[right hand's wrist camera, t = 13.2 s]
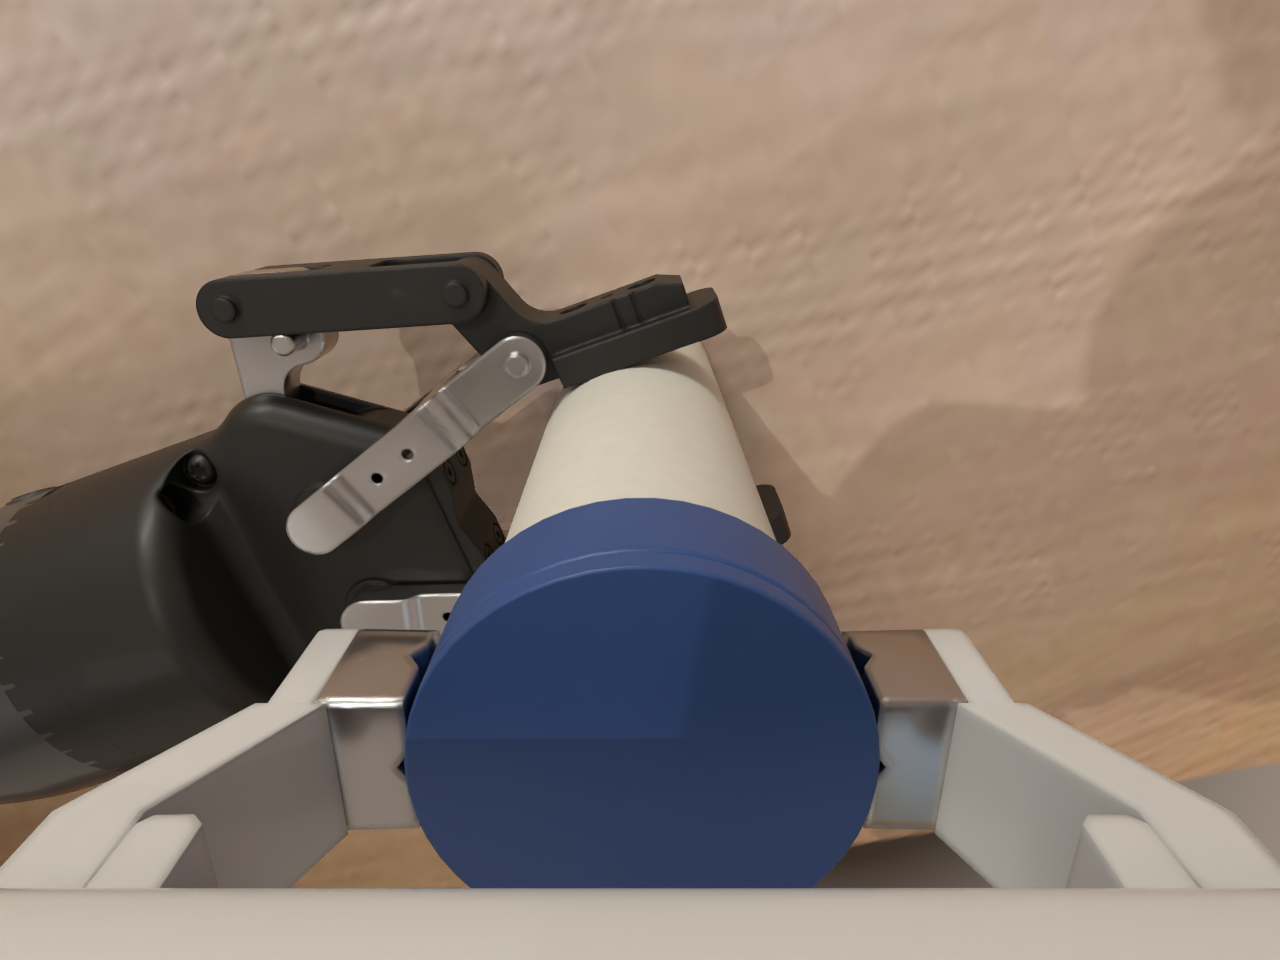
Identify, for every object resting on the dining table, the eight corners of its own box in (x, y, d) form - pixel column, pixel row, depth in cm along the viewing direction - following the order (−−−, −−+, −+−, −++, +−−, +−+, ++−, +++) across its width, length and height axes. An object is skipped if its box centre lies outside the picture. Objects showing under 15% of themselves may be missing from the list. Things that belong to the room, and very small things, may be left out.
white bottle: (734, 411, 25) (891, 802, 10) (609, 472, 26) (567, 925, 10) (672, 282, 23) (737, 497, 8) (541, 351, 24) (371, 666, 9)
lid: (845, 480, 9) (891, 549, 8) (836, 819, 11) (872, 936, 9) (409, 509, 9) (358, 583, 8) (474, 840, 11) (444, 959, 10)
